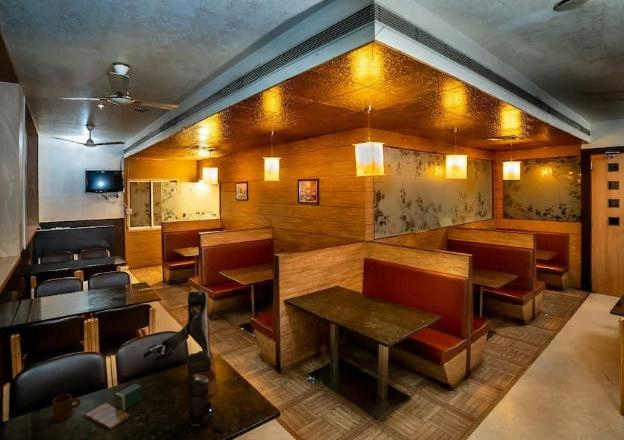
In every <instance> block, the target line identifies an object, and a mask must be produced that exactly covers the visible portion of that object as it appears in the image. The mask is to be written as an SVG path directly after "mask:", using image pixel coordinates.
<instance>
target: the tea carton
mask: <svg viewBox="0 0 624 440" xmlns="http://www.w3.org/2000/svg"><path fill="white" fill-rule="evenodd" d="M142 388H143V386H142V385H140V384H138V383H132V384H131V385H129V386H127V387H125V388H124V389H122V390H120V391H118V392H115V393H114V407H115V408H117V409H119V410H121V411H123V412H125V411H126V410H128V409H129V408H131V407H132V406H134V405H135V404H138V403H139V402H140V401H142V400H143V389H142Z"/></svg>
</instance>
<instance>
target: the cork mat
mask: <svg viewBox="0 0 624 440" xmlns="http://www.w3.org/2000/svg"><path fill="white" fill-rule="evenodd" d="M84 416H85V417H86V418H89V419H90V420H92V421H94V422H96V423H97V424H100V425H101V426H103V427H105V428H107V429H108V430H112V429H114V428H116V427H118V426H119V425H120V424H121V423H123V422H125V421H126V420H129V419H130V418H131V417H132V415H131V414H129V413H127V412H125V411H121V410H119V409H117V408H115V406H113V405H111V404H109V403H107V402H104V403H103V404H100V405H99V406H97V407H95V408H94V409H92V410H89V411H88V412H86V413H85V414H84Z"/></svg>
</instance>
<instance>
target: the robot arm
mask: <svg viewBox="0 0 624 440" xmlns="http://www.w3.org/2000/svg"><path fill="white" fill-rule="evenodd" d="M197 308H200V310H198V309H197ZM187 315H188V316H187V322H186V323H185V324H184V325H183V327H182V328H181V329H180V330H178V331H177V332H175V333H174V334H172V335H170V336H168V337H167V338H166V339H164V340H163V341H162V342H161V343H160V344H157V343H154V344H152V345H150V346H149V347H147V349H146V350H147V351H145V352H144V353H143V358H147V357H148V356H150V355H152V354H153V355H154V354H158V355H157V356H156V357H154V361H155V362H158V361H160V360H161V359H168V358H169V357H170V356H172V355H173V354H174V350H175V349H177V348H179V347H180V346H181V345H182V344H183V343H185V342H186V341H188V340H189V338H190V337H191V338H192V340H194V342H195V343H196V344H198V346H199V347H200V348H201V351H203V353H202V352H200V353H197V352H193V353H189V354H188V356H187V359H186V367H187V379H188V380H187V383H188V384H187V387H188V414H189V415H188V423H189V425H190V426H192V427H202V428H203V427H204V426H206V425H207V424H209V423H210V424H212V426H213V428H214V429H215V430H216V431H217V432H220V433H223V430H222V429H221V428H218V426H217V425H216V423H215V422H214V421H213V413H212V401H211V400H210V395H209V380H208V378H207V377H206V376H203V375H199V373H206V372H209V371H210V370H211V366H212V360H211V352H212V351H211V345H210V343H211V342H210V320H209V319H210V318H209V293H208V292H207V291H206V290H191V291H189V292H188V294H187Z"/></svg>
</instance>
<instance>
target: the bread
mask: <svg viewBox="0 0 624 440" xmlns="http://www.w3.org/2000/svg"><path fill="white" fill-rule="evenodd" d="M200 352H202V353H203V350H199V351H197V352H196V353H200ZM211 360H212V366H211V370H210V371H209V372H206V373H199V375H203V376H206V377H207V378H208V380H209V396H211V395H212V396H213V395H217V382H218V380H217V379H218V378H217V368H216V359H215V355H214V352H212V351H211Z"/></svg>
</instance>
